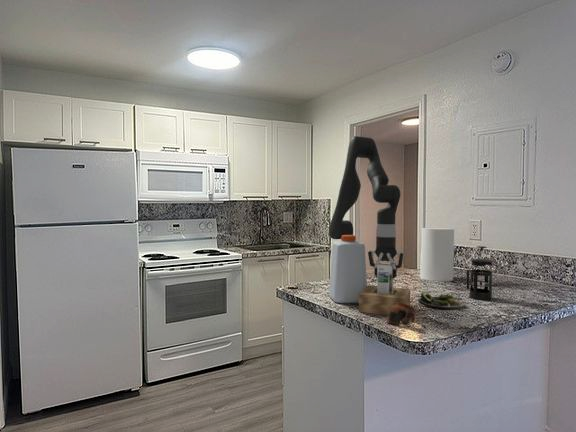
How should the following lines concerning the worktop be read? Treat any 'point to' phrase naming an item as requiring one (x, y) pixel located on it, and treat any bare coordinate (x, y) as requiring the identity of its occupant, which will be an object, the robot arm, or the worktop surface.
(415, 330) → the worktop surface
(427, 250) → the cylinder
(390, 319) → the pottery mug
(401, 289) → the slot block
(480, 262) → the french press
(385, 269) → the syrup box
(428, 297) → the salad plate
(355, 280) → the plastic bottle
